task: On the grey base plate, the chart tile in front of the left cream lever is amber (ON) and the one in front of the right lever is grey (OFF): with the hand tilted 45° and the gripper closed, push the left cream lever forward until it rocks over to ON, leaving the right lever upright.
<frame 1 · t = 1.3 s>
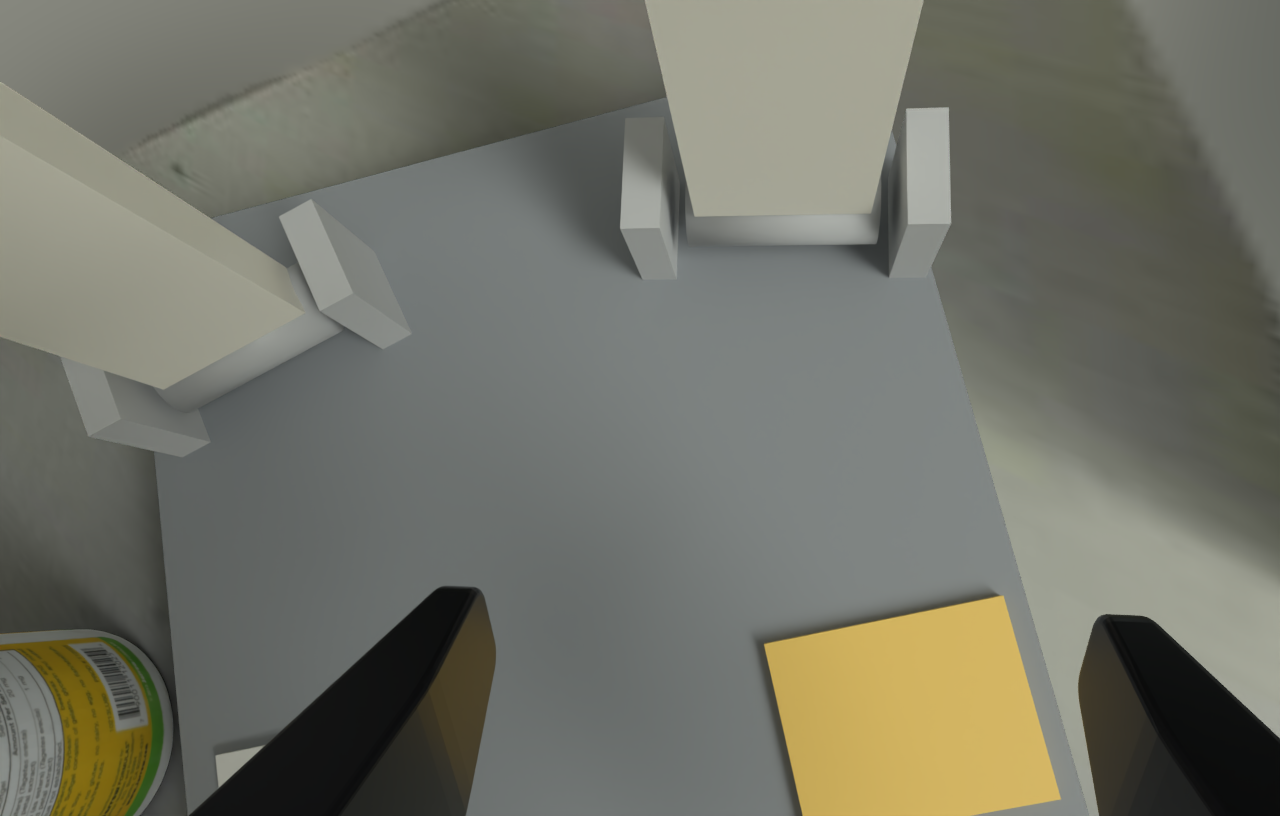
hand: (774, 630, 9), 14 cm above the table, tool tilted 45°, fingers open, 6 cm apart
switch b: (74, 257, 16), point 9 cm above the table, hinge at 0.0°
supplement bottle: (89, 734, 24), on the table
switch a: (782, 70, 15), point 9 cm above the table, hinge at -0.1°
grey base plate: (569, 507, 23), on the table
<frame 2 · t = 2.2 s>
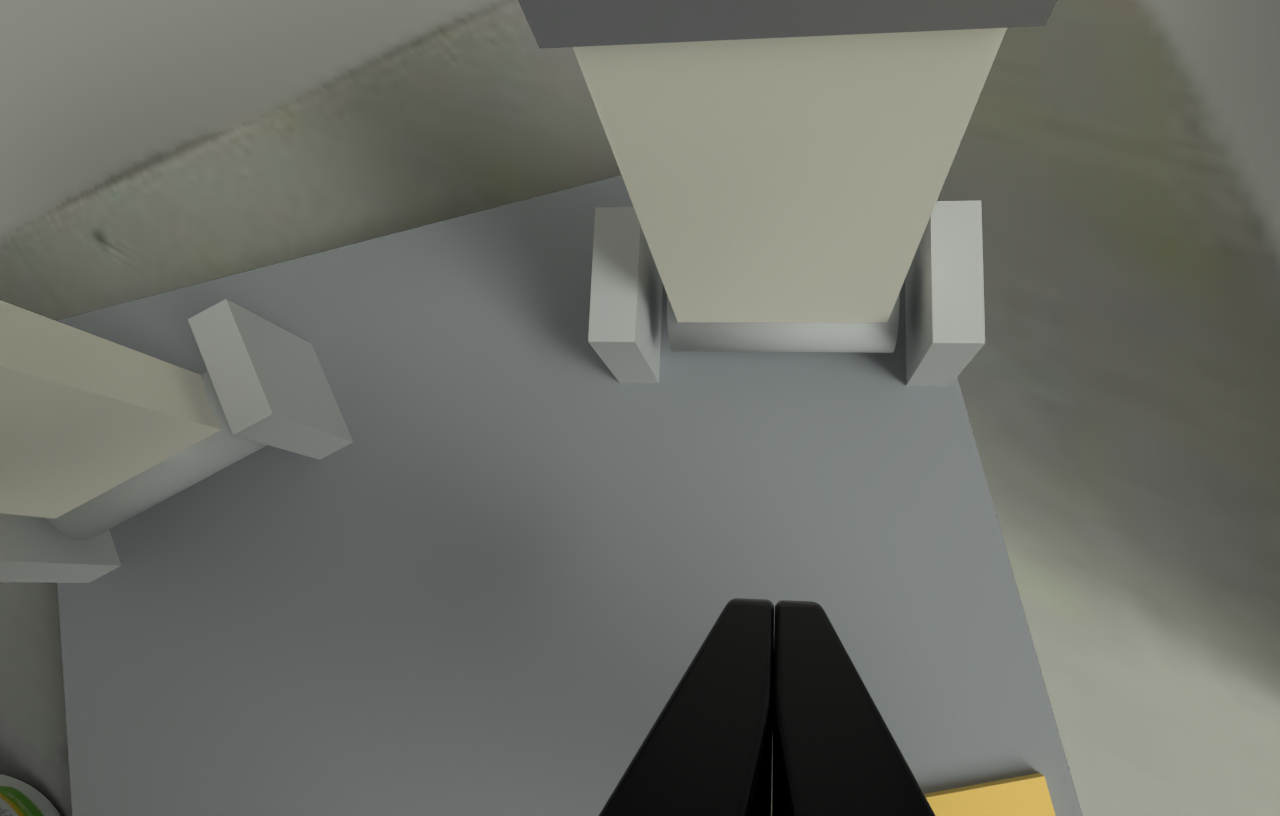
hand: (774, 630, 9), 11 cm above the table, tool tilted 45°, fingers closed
switch a: (782, 179, 12), point 9 cm above the table, hinge at -0.1°
grey base plate: (536, 639, 20), on the table
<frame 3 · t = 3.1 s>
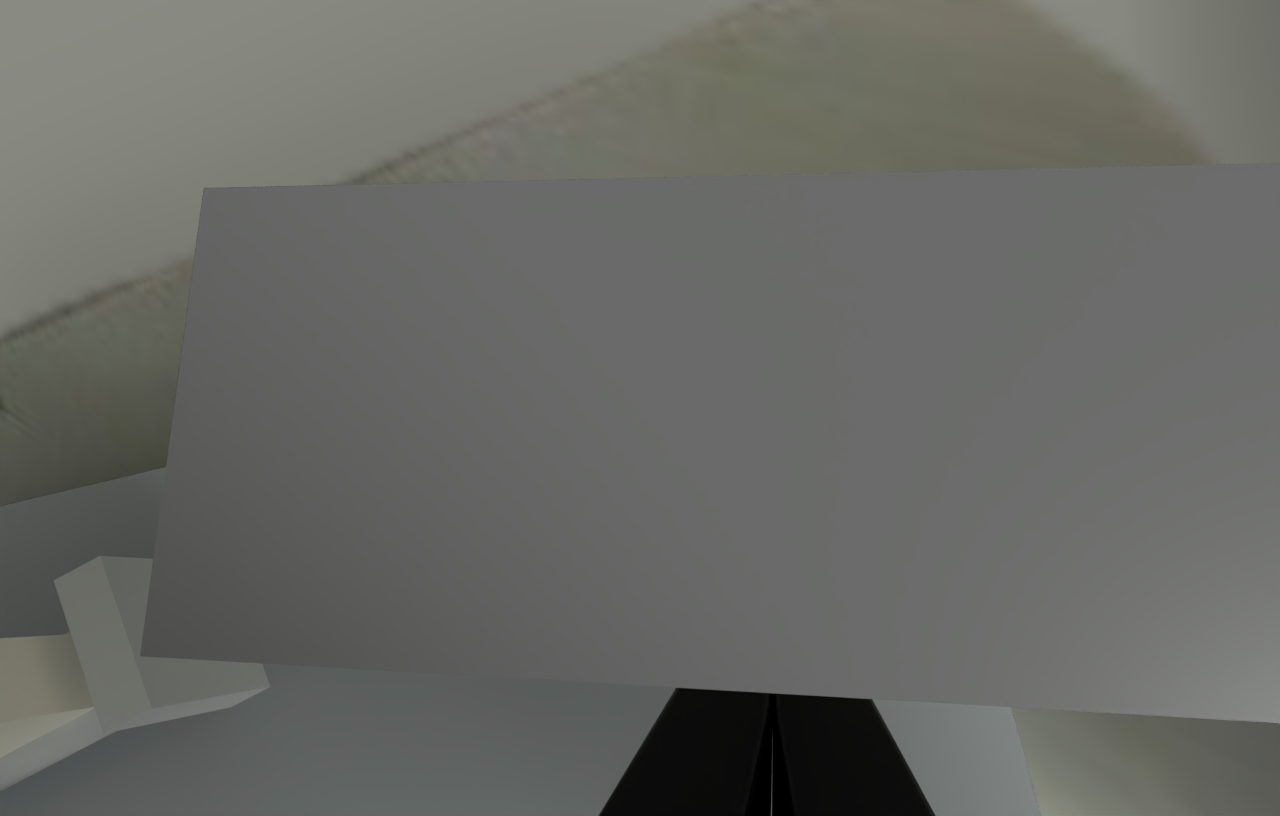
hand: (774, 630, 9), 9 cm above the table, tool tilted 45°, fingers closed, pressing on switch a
switch a: (777, 536, 9), point 9 cm above the table, hinge at -0.1°, touching gripper
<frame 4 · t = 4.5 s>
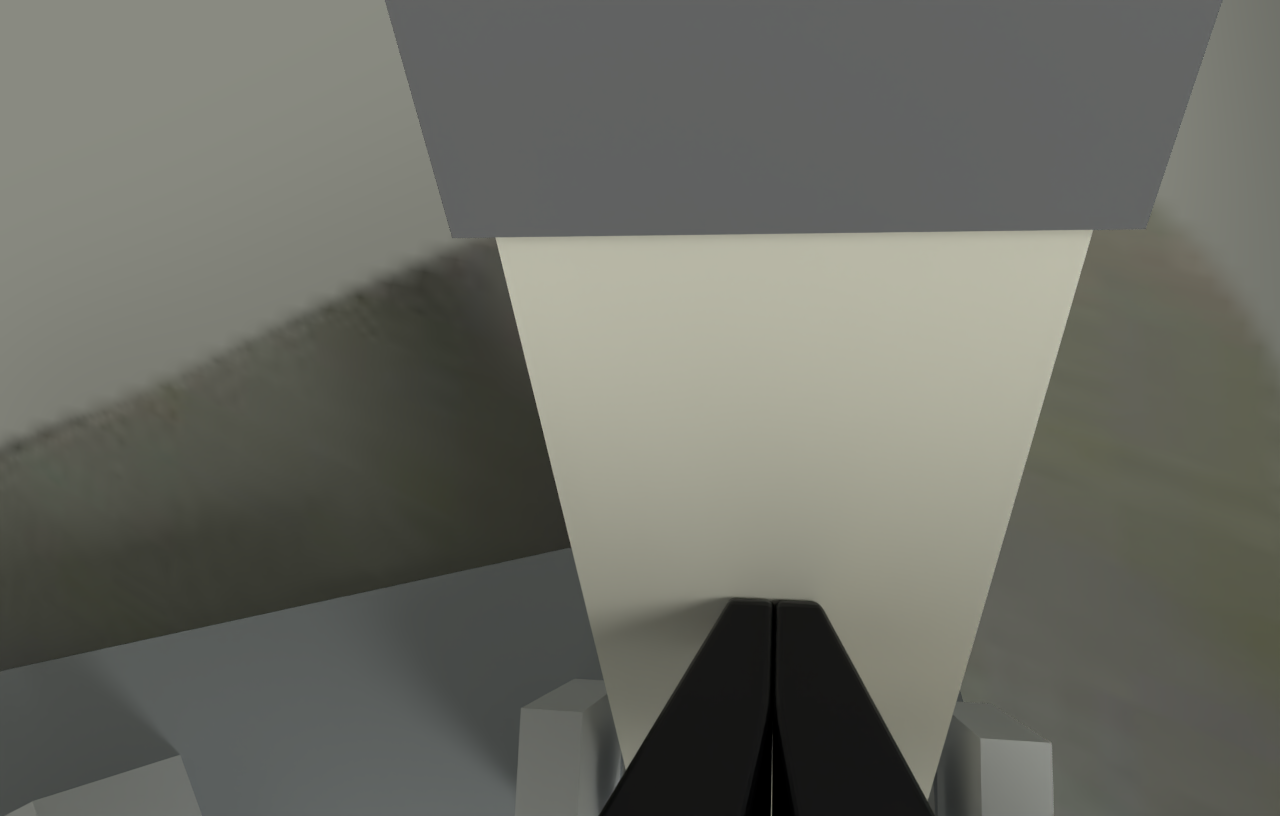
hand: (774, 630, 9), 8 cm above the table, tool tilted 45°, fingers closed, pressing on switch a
switch a: (776, 567, 9), point 8 cm above the table, hinge at 35.5°, touching gripper
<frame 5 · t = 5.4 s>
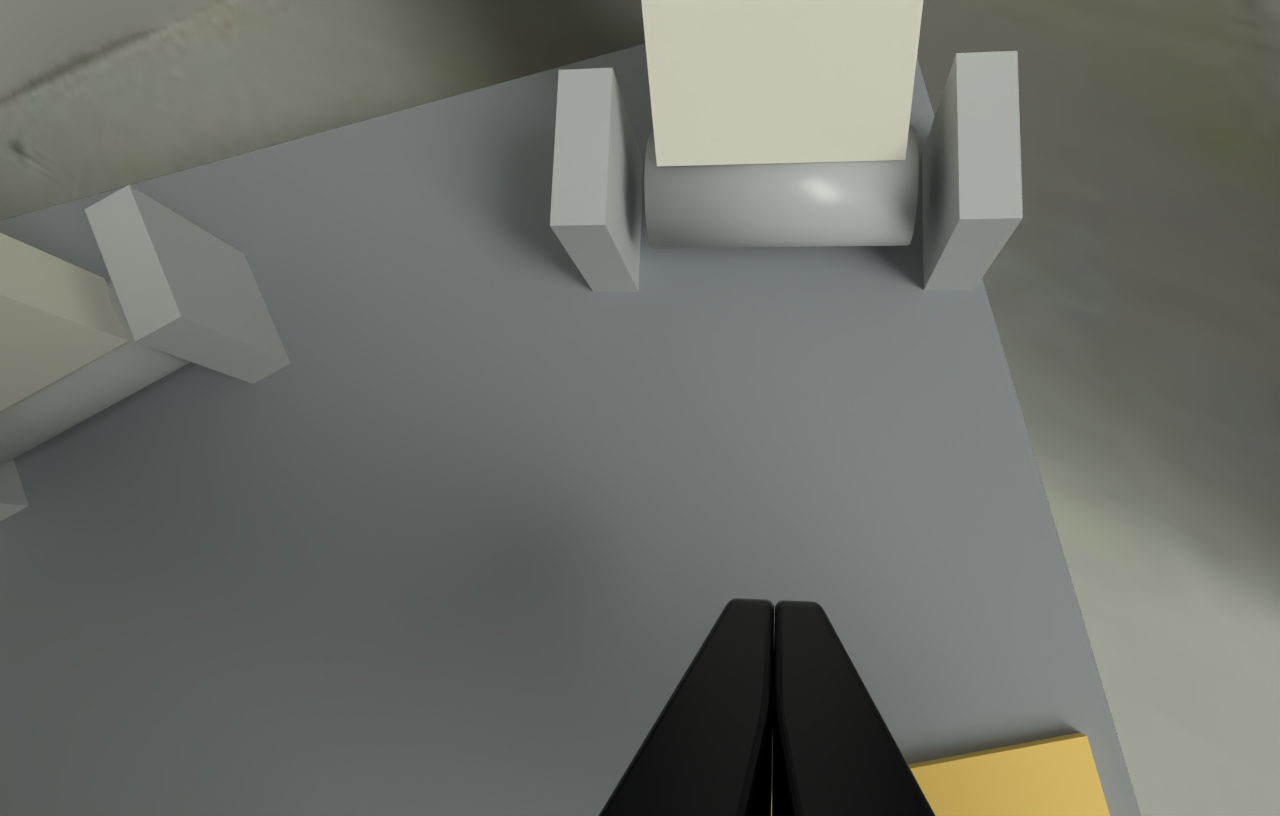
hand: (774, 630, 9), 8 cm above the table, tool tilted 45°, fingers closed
grey base plate: (503, 588, 18), on the table
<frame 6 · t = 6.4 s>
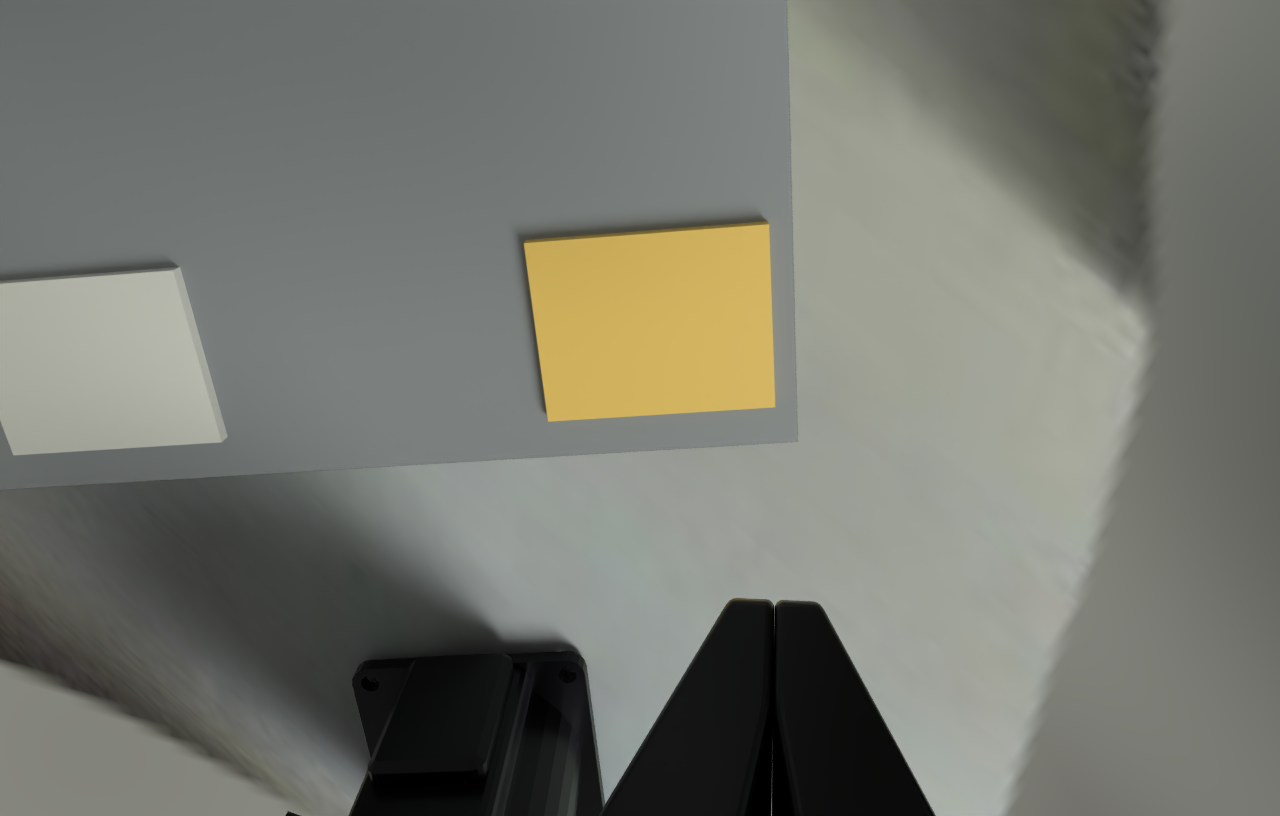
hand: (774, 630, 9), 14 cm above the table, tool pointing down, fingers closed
grey base plate: (331, 49, 20), on the table
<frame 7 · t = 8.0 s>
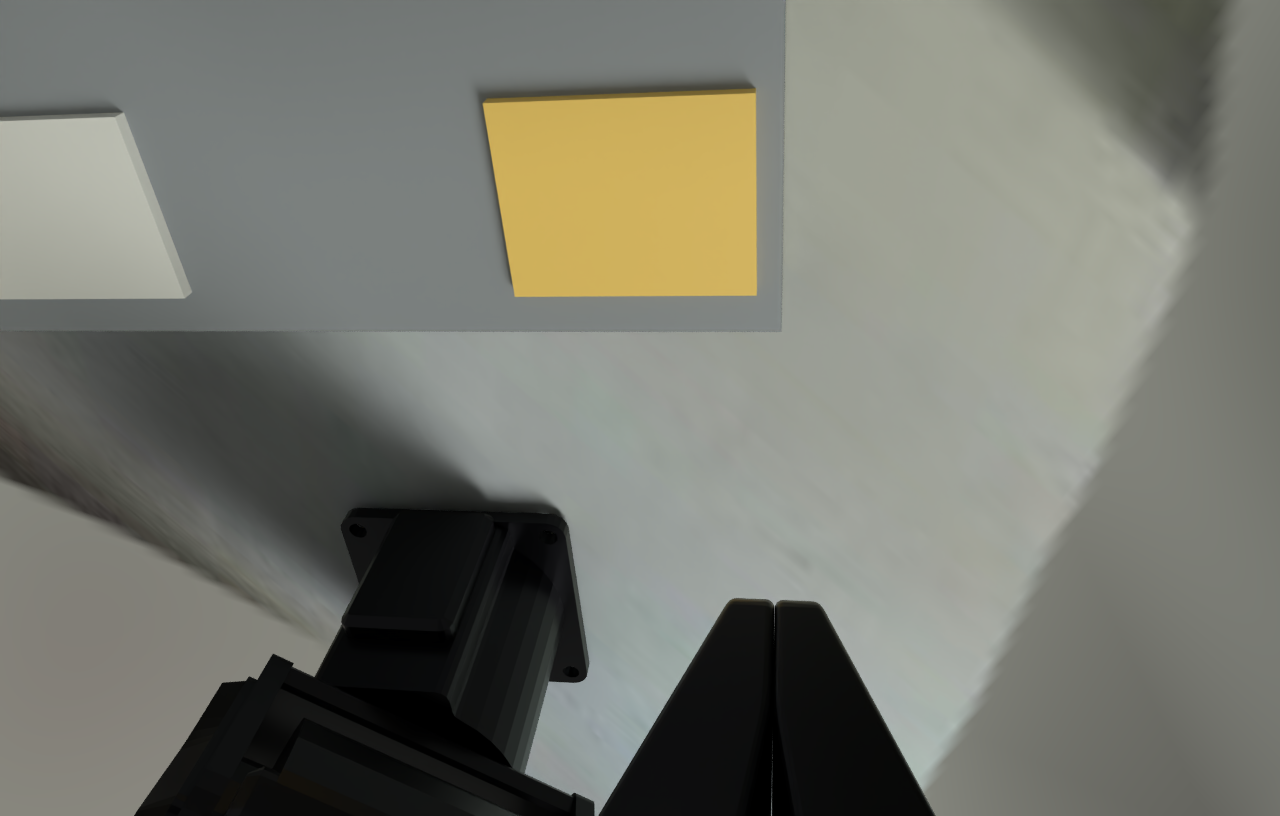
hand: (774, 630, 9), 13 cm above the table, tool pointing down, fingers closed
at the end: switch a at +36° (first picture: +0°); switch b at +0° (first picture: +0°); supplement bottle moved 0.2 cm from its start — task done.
